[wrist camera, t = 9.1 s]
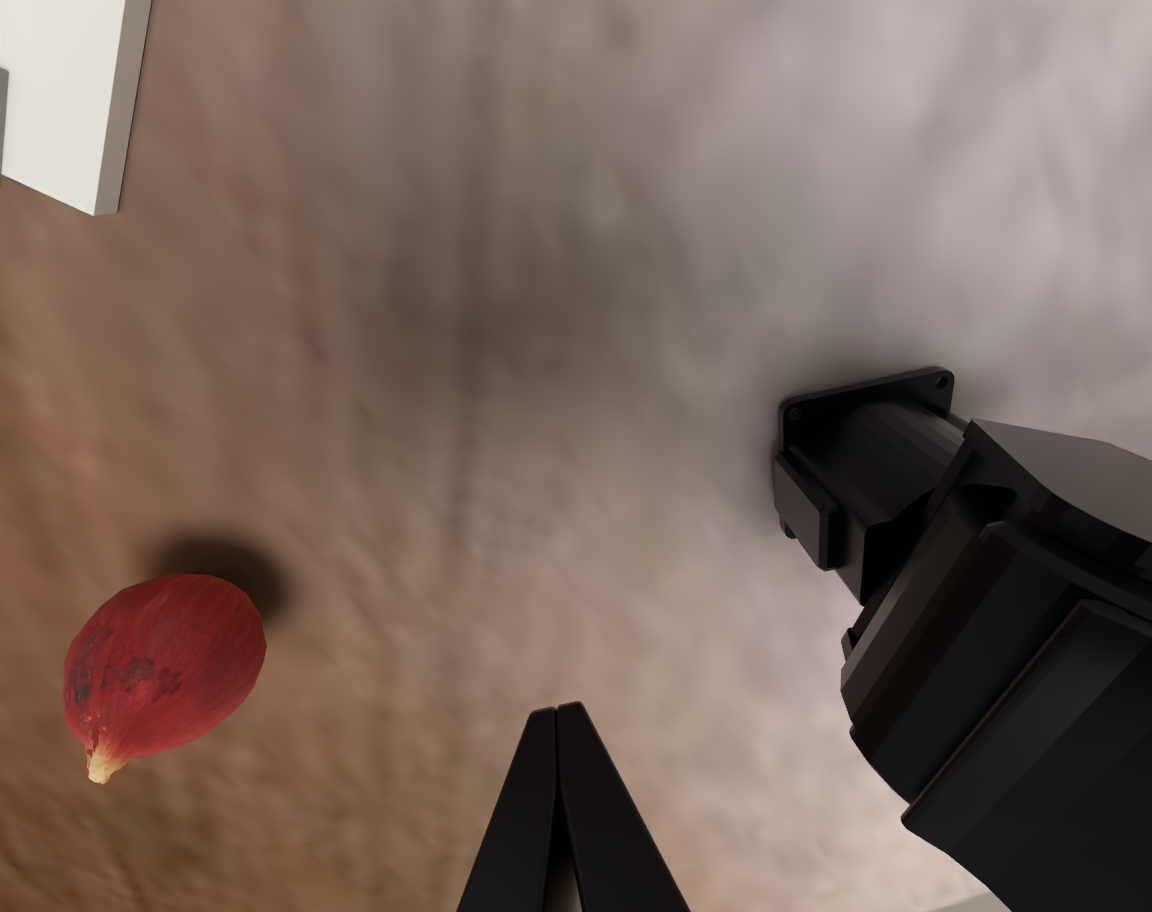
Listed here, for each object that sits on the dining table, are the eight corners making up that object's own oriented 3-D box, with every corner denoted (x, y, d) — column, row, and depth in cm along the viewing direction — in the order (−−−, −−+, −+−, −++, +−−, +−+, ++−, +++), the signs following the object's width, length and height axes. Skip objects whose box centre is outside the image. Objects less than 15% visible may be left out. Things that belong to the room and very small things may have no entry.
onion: (112, 557, 22) (-79, 744, 15) (240, 513, 22) (103, 685, 15) (206, 651, 25) (80, 846, 18) (321, 614, 24) (238, 799, 17)
